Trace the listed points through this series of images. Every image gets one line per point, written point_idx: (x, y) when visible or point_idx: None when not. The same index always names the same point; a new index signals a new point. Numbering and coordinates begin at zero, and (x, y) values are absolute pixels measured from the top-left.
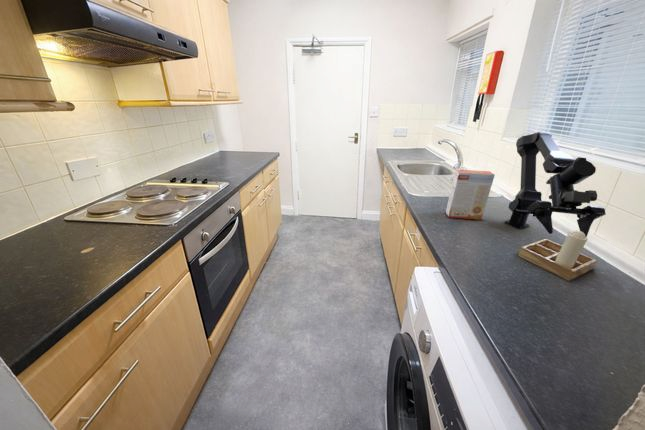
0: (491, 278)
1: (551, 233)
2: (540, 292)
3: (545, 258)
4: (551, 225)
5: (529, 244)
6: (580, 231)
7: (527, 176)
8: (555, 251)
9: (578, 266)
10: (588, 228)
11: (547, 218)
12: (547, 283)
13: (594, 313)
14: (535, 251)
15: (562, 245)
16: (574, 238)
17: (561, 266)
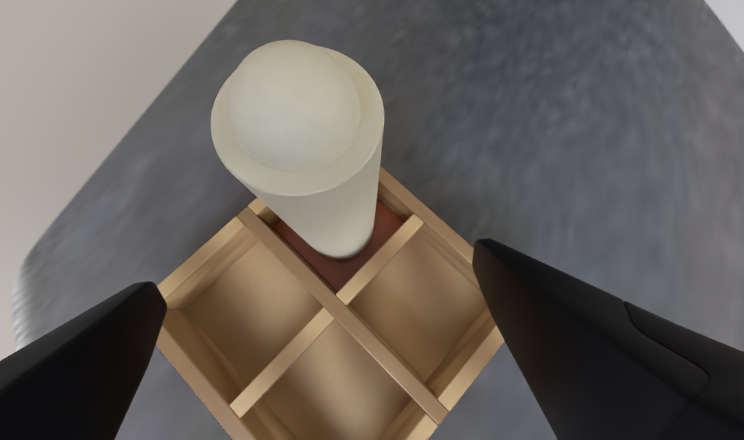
0: (617, 67)
1: (477, 246)
2: (467, 48)
3: (428, 208)
4: (540, 281)
5: (479, 369)
6: (278, 61)
7: None
8: (291, 435)
9: None
10: (9, 361)
11: (719, 348)
12: (429, 107)
13: (339, 6)
14: (415, 371)
15: (374, 199)
16: (354, 64)
17: None
